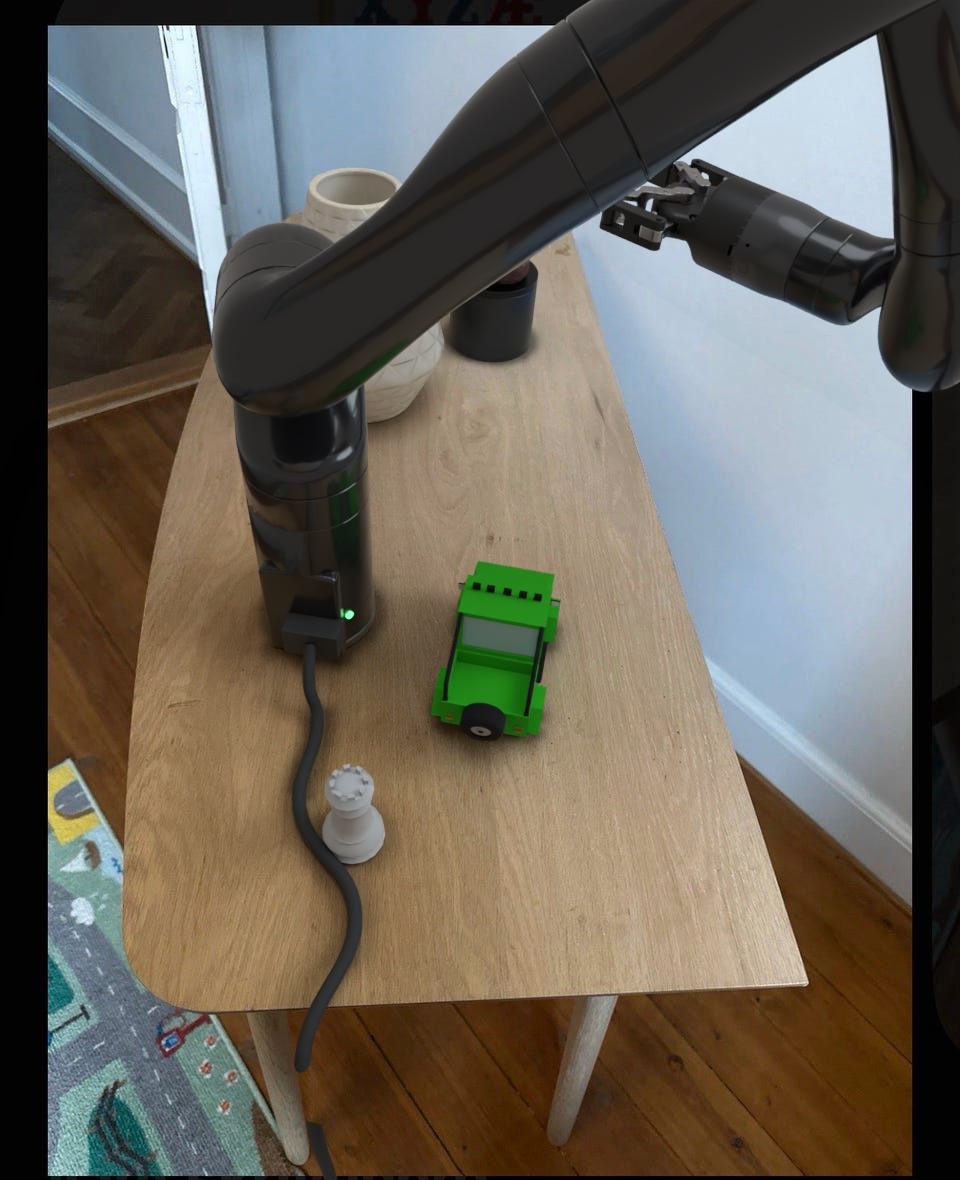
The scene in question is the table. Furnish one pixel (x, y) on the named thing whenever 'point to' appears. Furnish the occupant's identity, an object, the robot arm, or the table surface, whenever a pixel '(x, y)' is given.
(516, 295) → the canister
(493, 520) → the table surface
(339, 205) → the vase
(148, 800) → the table surface
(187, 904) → the table surface
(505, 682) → the toy car
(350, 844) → the rook chess piece
